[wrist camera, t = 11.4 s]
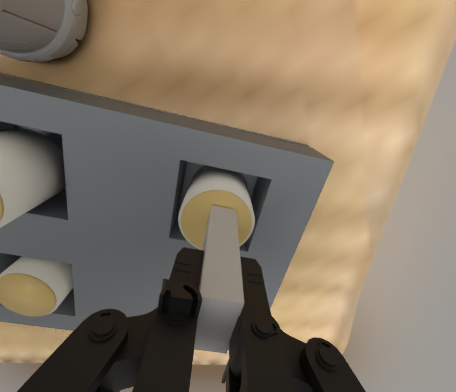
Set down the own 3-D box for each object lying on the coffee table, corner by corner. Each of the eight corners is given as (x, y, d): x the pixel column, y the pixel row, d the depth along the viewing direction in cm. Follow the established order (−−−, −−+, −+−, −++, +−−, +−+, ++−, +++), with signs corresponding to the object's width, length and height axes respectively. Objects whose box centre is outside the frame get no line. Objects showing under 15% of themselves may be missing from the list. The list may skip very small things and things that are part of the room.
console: (12, 274, 24) (-38, 316, 19) (-35, 64, 16) (-138, 53, 11) (246, 309, 27) (250, 353, 22) (307, 145, 19) (334, 161, 14)
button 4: (185, 210, 19) (172, 247, 15) (194, 156, 17) (183, 180, 13) (239, 220, 20) (244, 260, 15) (254, 169, 18) (264, 197, 13)
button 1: (44, 267, 23) (-4, 313, 18) (38, 228, 21) (-17, 268, 16) (93, 275, 23) (60, 321, 18) (92, 237, 21) (54, 278, 16)
